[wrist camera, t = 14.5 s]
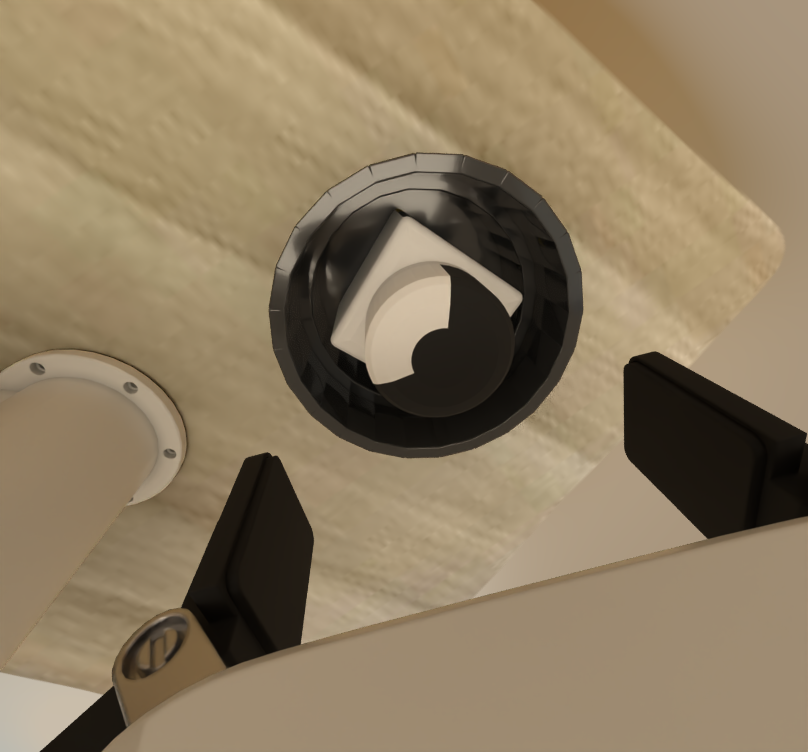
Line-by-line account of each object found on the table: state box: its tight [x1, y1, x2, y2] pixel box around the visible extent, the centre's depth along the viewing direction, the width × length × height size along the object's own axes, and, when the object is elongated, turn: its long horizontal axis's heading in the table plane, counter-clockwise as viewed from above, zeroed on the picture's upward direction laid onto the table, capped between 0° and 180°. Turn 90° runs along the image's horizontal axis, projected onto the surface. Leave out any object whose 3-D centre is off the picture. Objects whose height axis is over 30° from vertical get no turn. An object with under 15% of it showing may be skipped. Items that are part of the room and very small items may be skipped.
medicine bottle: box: [331, 209, 523, 417], centre depth 21 cm, size 7×7×12 cm
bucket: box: [269, 153, 583, 458], centre depth 23 cm, size 14×14×9 cm
